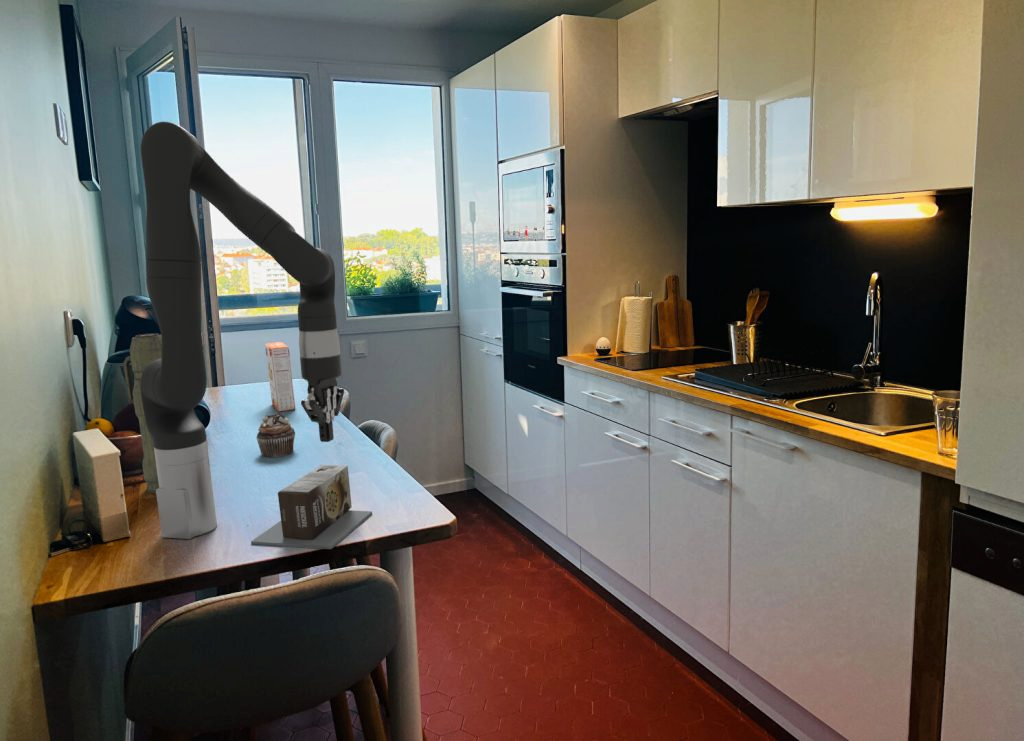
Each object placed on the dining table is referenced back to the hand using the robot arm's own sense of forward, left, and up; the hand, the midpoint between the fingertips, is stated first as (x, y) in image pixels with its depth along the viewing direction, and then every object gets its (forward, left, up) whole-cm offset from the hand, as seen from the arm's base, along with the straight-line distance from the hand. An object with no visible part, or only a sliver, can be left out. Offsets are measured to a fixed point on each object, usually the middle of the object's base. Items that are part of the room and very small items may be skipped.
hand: (327, 440), depth 148 cm
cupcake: (+38, +36, -15) cm, 55 cm away
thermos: (+10, +47, -15) cm, 51 cm away
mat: (-8, 0, -15) cm, 17 cm away
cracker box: (+87, +64, -15) cm, 109 cm away
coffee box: (+2, 0, -10) cm, 10 cm away
